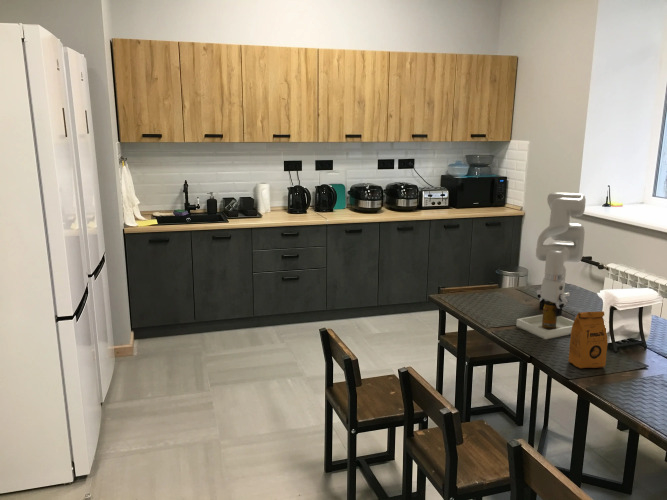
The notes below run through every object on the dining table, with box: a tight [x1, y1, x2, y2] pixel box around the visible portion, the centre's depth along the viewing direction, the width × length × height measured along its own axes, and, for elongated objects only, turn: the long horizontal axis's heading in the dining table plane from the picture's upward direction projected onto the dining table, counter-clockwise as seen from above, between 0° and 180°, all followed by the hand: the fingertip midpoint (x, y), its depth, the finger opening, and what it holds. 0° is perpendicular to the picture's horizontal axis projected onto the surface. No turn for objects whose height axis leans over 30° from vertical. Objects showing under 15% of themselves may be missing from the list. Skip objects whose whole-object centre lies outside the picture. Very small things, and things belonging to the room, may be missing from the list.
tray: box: [515, 313, 574, 340], centre depth 260 cm, size 22×18×4 cm
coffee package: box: [568, 311, 609, 369], centre depth 219 cm, size 10×12×22 cm
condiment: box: [538, 301, 561, 330], centre depth 259 cm, size 7×8×12 cm
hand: (550, 312), depth 259 cm, fingers open, 9 cm apart
